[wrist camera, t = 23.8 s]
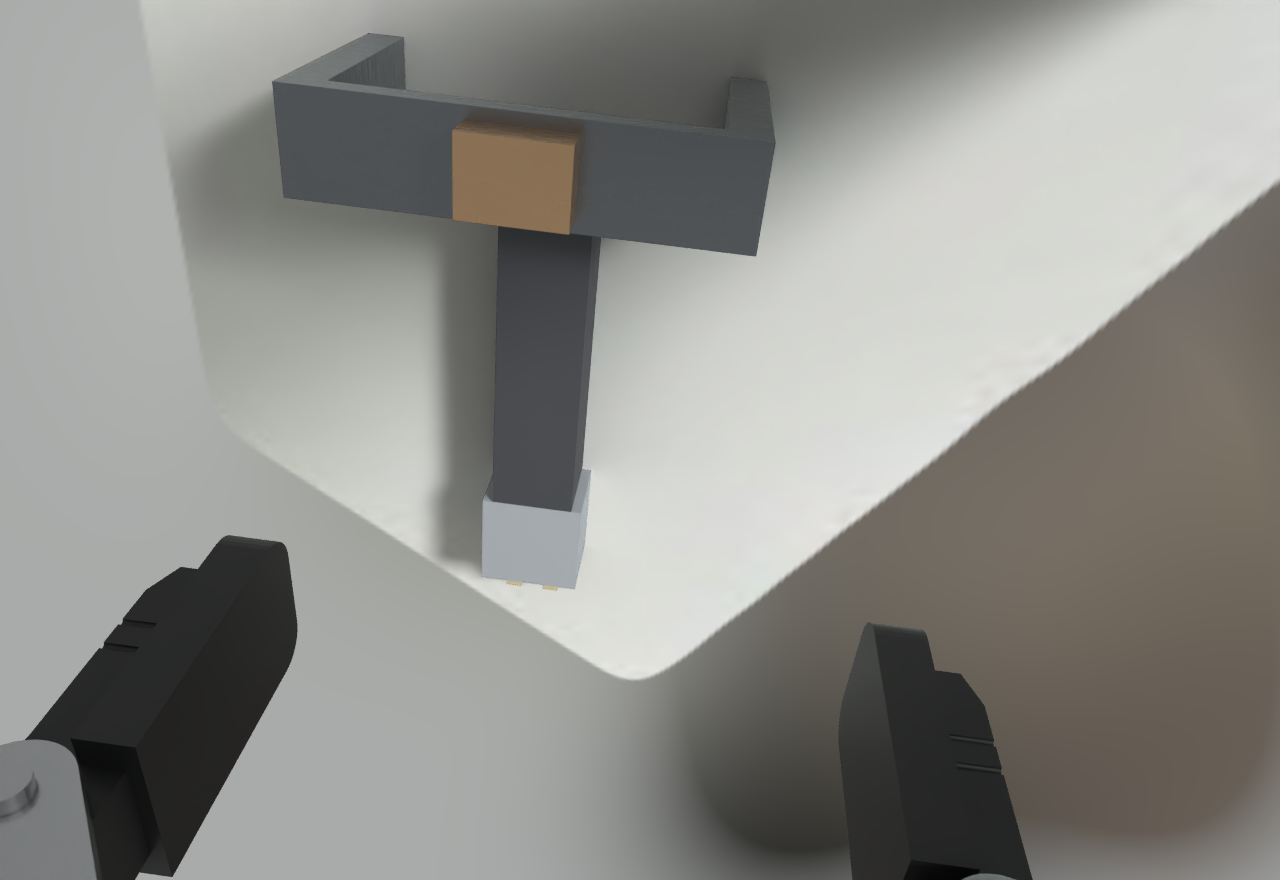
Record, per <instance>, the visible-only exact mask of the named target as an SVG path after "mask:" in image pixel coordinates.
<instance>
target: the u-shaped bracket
mask: <svg viewBox="0 0 1280 880" xmlns="http://www.w3.org/2000/svg"><path fill="white" fill-rule="evenodd" d="M272 84H273V94H274V104H275V114H276V124H277V134H278V144H279V154H280V164H281V174H282V184H283V194H284V198H291V199H299V200H307V201H315V202H323V203H331V204H339V205H347V206H355V207H363V208H371V209H380V210H388V211H396V212H404V213H412V214H420V215H428V216H436V217H444V218H452V219H453V220H455V221H463V222H471V223H479V224H487V225H495V226H503V227H511V228H519V229H527V230H535V231H543V232H552V233H560V234H568V235H569V234H570V233H572V234H580V235H588V236H596V237H604V238H612V239H620V240H628V241H636V242H644V243H652V244H660V245H668V246H676V247H684V248H692V249H700V250H708V251H716V252H724V253H732V254H740V255H748V256H756V253H757V248H758V242H759V236H760V230H761V224H762V218H763V213H764V207H765V201H766V195H767V189H768V183H769V178H770V172H771V166H772V160H773V154H774V148H775V136H774V129H773V122H772V114H771V107H770V100H769V93H768V86H767V81H760V80H751V79H743V78H735V77H731V84H730V91H729V98H728V105H727V112H726V119H725V126H724V129H720V128H711V127H703V126H695V125H687V124H679V123H670V122H662V121H654V120H646V119H638V118H630V117H621V116H613V115H605V114H597V113H589V112H580V111H572V110H564V109H556V108H548V107H539V106H531V105H523V104H515V103H507V102H499V101H490V100H482V99H474V98H466V97H458V96H449V95H441V94H433V93H425V92H417V91H409V90H405V68H404V37H396V36H388V35H380V34H371V33H368V34H366V35H364V36H362V37H360V38H358V39H356V40H354V41H352V42H350V43H348V44H346V45H344V46H342V47H340V48H338V49H336V50H334V51H332V52H330V53H328V54H326V55H324V56H322V57H320V58H318V59H316V60H314V61H312V62H310V63H308V64H306V65H304V66H302V67H300V68H298V69H296V70H294V71H292V72H290V73H288V74H286V75H284V76H282V77H280V78H278V79H276V80H274V81H272Z"/></svg>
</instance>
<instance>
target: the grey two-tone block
mask: <svg viewBox="0 0 1280 880" xmlns="http://www.w3.org/2000/svg"><path fill="white" fill-rule="evenodd" d="M600 242H601V237H596V236H588V235H580V234H572V233H570V234H569V235H568V234H560V233H552V232H543V231H535V230H527V229H519V228H511V227H503V226H499V231H498V276H497V321H496V367H495V412H494V457H493V475H492V478H491V481H490V483H489V486H488V488H487V491H486V493H485V496H484V498H483V513H482V577H486V578H494V579H501V580H507V584H510V585H517V586H521V584H522V582H524V583H531V584H539V585H543V589H547V590H555V591H557V588H558V587H561V588H568V589H575V586H576V582H577V577H578V572H579V568H580V563H581V559H582V554H583V550H584V545H585V536H586V525H587V513H588V502H589V490H590V479H591V470H585V469H582V463H583V451H584V439H585V426H586V414H587V402H588V389H589V377H590V365H591V352H592V340H593V328H594V316H595V303H596V291H597V279H598V266H599V254H600Z"/></svg>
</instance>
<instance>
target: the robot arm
mask: <svg viewBox="0 0 1280 880" xmlns="http://www.w3.org/2000/svg"><path fill="white" fill-rule="evenodd" d="M296 639H297V617H296V610H295V602H294V595H293V587H292V580H291V573H290V565H289V558H288V552H287V549H286V547H285V545H284V544H283V543H281V542H276V541H269V540H261V539H253V538H245V537H239V536H231V535H228V536H225V537H223V538H222V539H221V540H220V541H219V542H218V543H217V544H216V546H215V547H214V548H213V550H212V551H211V552H210V554H209V555H208V556H207V558H206V559H205V560H204V562H203V563H202V564H201V566H200V567H199V568H198V569H192V568H185V567H180V568H179V569H177V570H176V571H174V572H172V573H171V574H169V575H168V576H166V577H165V578H163V579H162V580H160V581H159V582H157V583H156V584H154V585H153V586H151V587H150V588H148V589H147V590H146V591H145V592H144V593H143V594H142V595H141V597H140V598H139V599H138V601H137V602H136V603H135V604H134V605H133V607H132V608H131V609H130V610H129V612H128V613H127V614H126V615H125V617H124V618H123V622H122V624H121V625H117V627H116V628H115V629H114V630H113V632H112V633H111V634H110V635H109V637H108V638H107V639H106V640H105V642H104V646H103V648H102V649H101V648H99V649H98V650H97V652H96V653H95V654H94V655H93V657H92V658H91V659H90V660H89V661H88V663H87V664H86V665H85V666H84V668H83V669H82V670H81V672H80V673H79V674H78V675H77V676H76V678H75V679H74V680H73V681H72V683H71V684H70V685H69V686H68V688H67V689H66V690H65V691H64V693H63V694H62V695H61V696H60V698H59V699H58V700H57V701H56V703H55V704H54V705H53V706H52V708H51V709H50V710H49V711H48V713H47V714H46V715H45V717H44V718H43V719H42V720H41V721H40V722H39V724H38V725H37V726H36V728H35V729H34V730H33V731H32V733H31V734H30V735H29V736H28V737H27V738H26V739H25V740H23V741H17V742H12V743H8V744H4V745H1V746H0V880H135V879H136V877H137V875H138V874H139V872H141V873H148V874H155V875H162V876H169V877H173V875H174V873H175V871H176V869H177V868H178V866H179V864H180V862H181V861H182V859H183V857H184V855H185V853H186V852H187V850H188V848H189V846H190V844H191V842H192V841H193V839H194V837H195V835H196V833H197V831H198V830H199V828H200V826H201V824H202V823H203V821H204V819H205V817H206V815H207V814H208V812H209V810H210V808H211V806H212V804H213V803H214V801H215V799H216V797H217V796H218V794H219V792H220V790H221V788H222V787H223V785H224V783H225V781H226V779H227V778H228V776H229V774H230V772H231V770H232V769H233V767H234V765H235V763H236V761H237V759H238V758H239V756H240V754H241V752H242V750H243V749H244V747H245V745H246V743H247V741H248V740H249V738H250V736H251V734H252V732H253V730H254V729H255V727H256V725H257V723H258V722H259V720H260V718H261V716H262V714H263V713H264V711H265V709H266V707H267V705H268V704H269V701H270V700H271V698H272V696H273V694H274V693H275V691H276V689H277V687H278V685H279V684H280V682H281V680H282V678H283V676H284V675H285V673H286V671H287V669H288V667H289V665H290V662H291V660H292V657H293V654H294V649H295V645H296ZM993 742H994V739H993V735H992V731H991V728H990V724H989V720H988V717H987V713H986V710H985V706H984V704H983V703H982V702H981V700H980V699H979V698H978V697H977V695H976V694H975V693H974V691H973V690H972V688H971V687H970V686H969V684H968V683H967V682H966V681H965V679H964V678H963V676H962V675H961V674H958V673H950V672H943V671H935V669H934V664H933V660H932V656H931V651H930V647H929V642H928V639H927V635H926V633H925V632H924V630H922V629H914V628H907V627H900V626H892V625H884V624H877V623H870V622H869V623H867V624H866V626H865V628H864V630H863V632H862V635H861V639H860V643H859V646H858V649H857V653H856V656H855V659H854V663H853V667H852V669H851V673H850V676H849V680H848V683H847V687H846V690H845V693H844V697H843V700H842V706H841V711H840V719H839V753H840V762H841V771H842V782H843V792H844V801H845V810H846V821H847V831H848V840H849V850H850V860H851V870H852V878H853V880H1033V879H1032V876H1031V872H1030V869H1029V865H1028V862H1027V858H1026V855H1025V851H1024V847H1023V843H1022V840H1021V836H1020V833H1019V829H1018V825H1017V822H1016V818H1015V815H1014V811H1013V807H1012V804H1011V800H1010V797H1009V793H1008V789H1007V786H1006V782H1005V778H1004V775H1001V764H1000V760H999V756H998V753H997V749H996V747H994V746H993Z"/></svg>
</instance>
